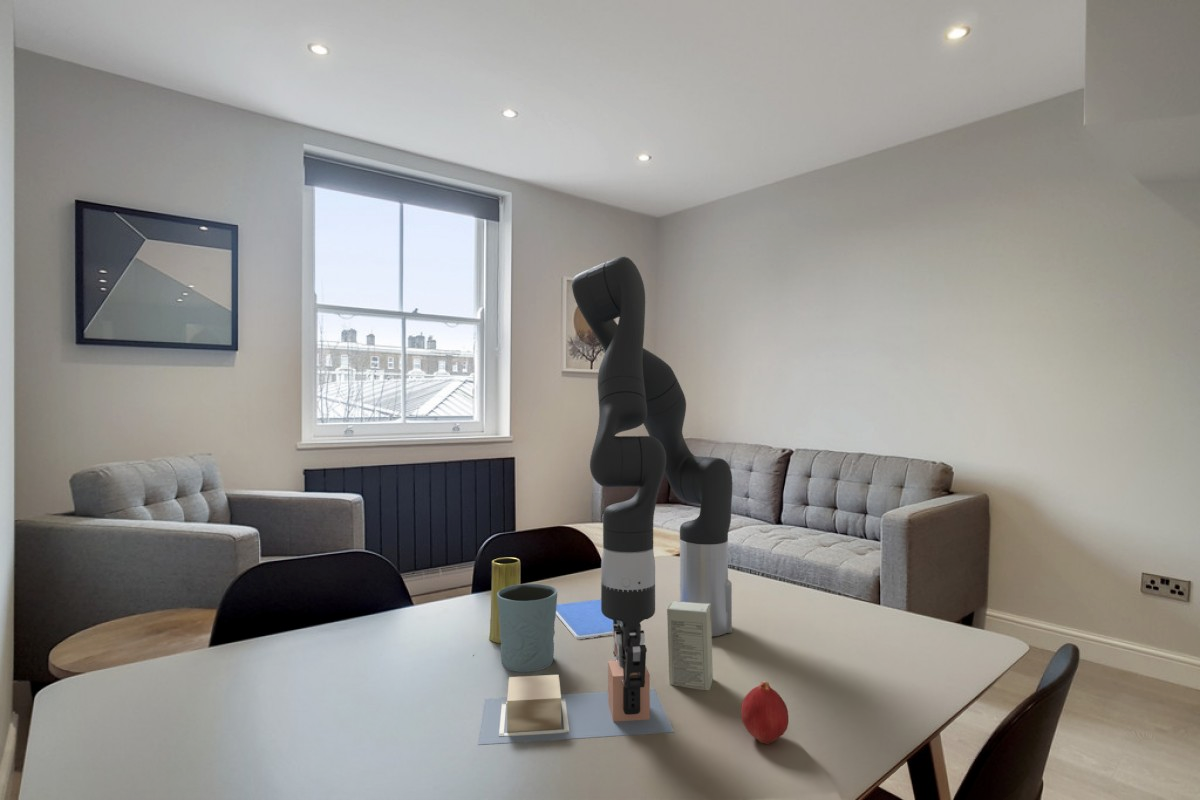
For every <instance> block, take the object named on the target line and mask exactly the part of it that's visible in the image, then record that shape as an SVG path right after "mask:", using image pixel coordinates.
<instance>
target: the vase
mask: <svg viewBox="0 0 1200 800" xmlns="http://www.w3.org/2000/svg"><path fill="white" fill-rule="evenodd" d="M514 585H521V560H520V559H519V558H517V557H511V556H510V557H508V556H507V557H498V558H496V559H493V560H491V593H490V595H491V596H490V618H489V619H490V620H489V622H490V623H489V624H490V626H489V636H488V639H489V640H490V641H491V642H493V643H496V644H501V639H500V623H499V611H498V602H497V593H498V591H500V590H501V589H503V588H506V587H509V586H514Z"/></svg>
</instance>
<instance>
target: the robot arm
mask: <svg viewBox="0 0 1200 800" xmlns="http://www.w3.org/2000/svg"><path fill="white" fill-rule="evenodd" d="M571 290H572V293H573V294H572V295H573V296H574V301H575V303H576V305H577V308H578V309H579V311H580V313H581V315H582V317H583V318H584V319H585V322H586V323H587V325H588V326H589V328H590V329H591V332H592V333H593V334H594V336H595V337H596V339H597V341H598V342H599V344H600V345H601V347H602V349H603V350H604V352H605V353H604V356H603V357H602V361H601V363H600V366H599V367H598V373H597V393H598V394H597V395H598V396H597V397H598V411H599V412H598V414H599V415H598V416H599V417H598V426H597V431H596V435H595V440H594V443H593V446H592V450H591V455H590V460H589V469H590V474H591V477H592V478H593V479H594V481H595V482H596V483H597V484H598V485H600V486H602V487H607V488H618V487H619V488H621V487H622V488H624V487H625V488H626V487H627V488H630V487H638V488H637V492H635V494H634V496H633V497H632V498H630V499H628V500H625V501H620V502H617V503H613V504H610V505H608V506H606V507H605V509H604V511H603V516H602V517H603V518H602V546H603V547H602V556H601V561H600V567H601V568H600V569H601V570H600V572H601V573H600V575H601V576H600V580H601V583H600V584H601V585H600V587H601V588H600V591H601V592H600V596H601V597H600V599H601V611H602V613H603V615H604V616H605V617H607V618H609V619H612V620H613V626H612V632H613V635H612V638H613V639H612V640H613V641H612V642H613V643H612V648H613V650H612V651H613V653H612V654H613V655H614V658H615V660H614V661H618V665H619V667H621V668H622V679H623V680H622V684H623V710H624V713H625V714H627V715H629V714H638V713H639V712H640V687H644V684H645V665H646V662H647V661H646V660H647V651H648V649H647V646H646V645H645V643H646V637H645V630H644V629H642V625H641V622H643V621H645V620H649V619H650V618H652V617H653V616H654V615H655V613H656V562H655V561H656V560H655V554H654V552H655V551H654V518H655V510H656V506H657V501H658V500H657V499H658V496H659V491H660V489H661V485H662V481H663V479H664V475H666V478H667V481H668V483H669V486H670V487H671V490H672V492H673V493H674V494H675V496H676V497H677V498H678V499H679V500H680V501H683V502H685V503H686V502H687V503H688V504H689V503H690V504H695V505H696V504H697V505H700V508H699V509H700V510H699V516H698V517H696V518H695V519H692V520H688V521H684V522H683V523H681V525H680V528H679V601H681V602H694V603H706V604H711V630H712V637H719V636H723V635H725V634H727V633H728V634H730V633H731V634H732V633H733V621H732V620H733V619H732V617H733V613H732V612H733V611H732V609H733V607H732V606H733V603H732V602H733V597H732V595H733V592H732V591H733V590H732V589H733V588H732V581H730V580H729V539H728V538H729V531H730V527H731V522H732V502H733V474H732V471H731V467H730V465H729V463H728V462H727V461H726V460H725V459H723V458H720V457H712V456H710V457H709V456H698V455H697V456H696V455H694V454H693V453H692V451H691V450H690V449H689V447H688V445H687V443H686V441H685V438H684V434H683V427H684V423H685V417H686V412H687V400H686V396H685V393H684V391H683V389H682V386H681V384H680V382H679V380H678V378H677V376H676V374H675V373H674V371H673V368H672V367H671V366H670V365H669V364H668V363H667V362H666V361H664V360H663V359H661V358H660V357H658V356H657V355H656V354H654V353H652V352H651V351H649V350H647V349H646V348H644V339H645V324H646V323H645V321H646V320H645V317H646V290H645V285H644V280H643V278H642V275H641V272H640V270H639V269H638V267H637V265H636V263H634V262H633V260H631V259H630V258H629V257H626V256H618V257H615V258H613V259H610V260H608V261H605V262H602V263H600V264H598V265H595V266H593V267H591V268H589V269H586V270H584V271H582V272H580V273H578V274H576V275H575V276H574V277H573V279H572V281H571ZM617 318H619V320H618V323H617V322H616V320H615V319H617ZM642 425H643V426H644V428H645V429H646V432H647V433H648V436H647V435H638V436H635V435H632V436H631V435H630V436H629V435H625V436H624V435H622V436H619V435H618V436H617V434H620V433H622V432H623V433H624V432H626V431H630V430H634V429H636V428H639V427H640V426H642ZM624 660H626V661H624ZM631 673H637V676H631V677H630V674H631Z"/></svg>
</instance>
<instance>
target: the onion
mask: <svg viewBox="0 0 1200 800" xmlns="http://www.w3.org/2000/svg"><path fill="white" fill-rule="evenodd" d="M740 714H741V715H740V716H741V721H742V724H743V726H744V727H745V729H746V730H747V732H748V733H749V735H751V737H753V738H755V739H756V740H757V742H759V743H761V744H767V745H768V744H772V743H773V742H775V741H776V740H778V739H779V738H781V736H783V735H784V734H785V732H786V731H787V729H788V726H789V711H788V708H787V703H786V702H785V701H784V700H783V698H782V697H781V695H780V694H779V692H778V691H776V690H775V689H773V688H772V687H771V686H770V685H769V682H768V681H766V680H762V681H761V683H760V684H759V685H758V686H756V687H754V688H752V689H751V690H750V691H749V692H748V693H747V694H746V695H745V696H744V699H743V700H742V704H741V713H740Z"/></svg>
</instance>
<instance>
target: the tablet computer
mask: <svg viewBox="0 0 1200 800" xmlns="http://www.w3.org/2000/svg"><path fill="white" fill-rule="evenodd" d="M556 617H557V618H558V619H559V620H560V621H561V622H562V623H563V625H564V626H565V627H566V629H567V630H568V631H569V632H570V634H571V635H572V636H573V638H576V639H575V640H577V639H583V640H586V639H585V638H589V639H595V638H594V637H598V638H600V637H599V636H605V637H609V636H608V635H612V636H613V632H612V626H613V620H612V619H609V618H607V617H605V616H604V615H603V613H602V611H601V598H600V599H592V600H585V601H575V602H567V603H558V604H557V605H556Z"/></svg>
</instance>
